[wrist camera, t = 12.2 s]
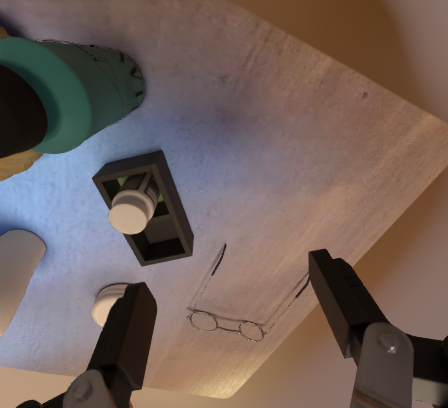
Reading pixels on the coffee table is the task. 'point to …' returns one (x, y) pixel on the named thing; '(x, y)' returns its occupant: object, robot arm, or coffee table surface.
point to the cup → (16, 270)
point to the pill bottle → (134, 203)
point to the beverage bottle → (61, 93)
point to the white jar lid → (106, 302)
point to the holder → (163, 215)
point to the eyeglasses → (241, 323)
